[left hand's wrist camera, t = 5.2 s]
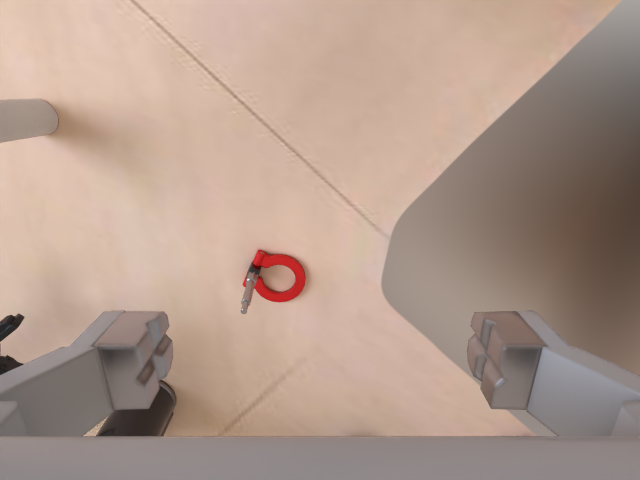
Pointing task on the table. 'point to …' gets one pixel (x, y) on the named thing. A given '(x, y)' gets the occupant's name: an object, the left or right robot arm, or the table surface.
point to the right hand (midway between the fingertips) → (52, 338)
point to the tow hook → (257, 282)
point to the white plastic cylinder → (26, 119)
